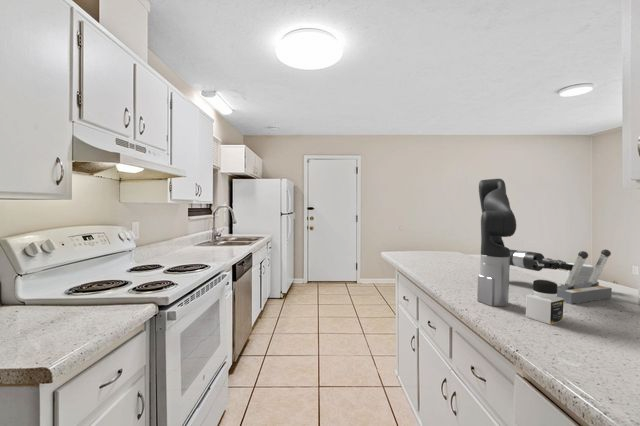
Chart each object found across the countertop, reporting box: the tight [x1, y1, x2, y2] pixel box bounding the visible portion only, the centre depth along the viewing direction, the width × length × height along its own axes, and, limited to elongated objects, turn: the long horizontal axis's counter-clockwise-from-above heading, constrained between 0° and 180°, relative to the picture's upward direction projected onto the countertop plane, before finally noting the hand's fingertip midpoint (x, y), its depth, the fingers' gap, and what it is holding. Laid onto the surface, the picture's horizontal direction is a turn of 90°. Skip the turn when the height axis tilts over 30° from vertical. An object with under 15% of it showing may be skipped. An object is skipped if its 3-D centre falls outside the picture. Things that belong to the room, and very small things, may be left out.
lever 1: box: [564, 250, 589, 289], centre depth 113 cm, size 3×3×16 cm
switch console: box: [556, 281, 613, 305], centre depth 117 cm, size 24×8×6 cm, turn 110°
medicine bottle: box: [525, 279, 564, 326], centre depth 94 cm, size 7×7×12 cm
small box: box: [566, 262, 595, 284], centre depth 131 cm, size 8×6×10 cm
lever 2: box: [588, 249, 612, 286], centre depth 118 cm, size 3×3×16 cm
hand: (574, 268), depth 113 cm, fingers closed
